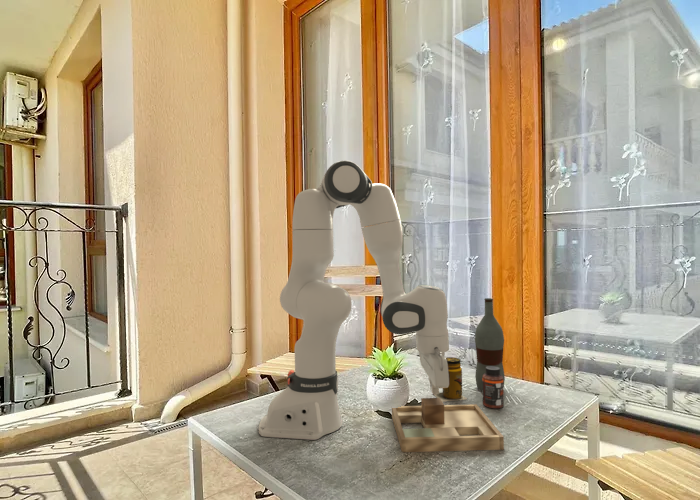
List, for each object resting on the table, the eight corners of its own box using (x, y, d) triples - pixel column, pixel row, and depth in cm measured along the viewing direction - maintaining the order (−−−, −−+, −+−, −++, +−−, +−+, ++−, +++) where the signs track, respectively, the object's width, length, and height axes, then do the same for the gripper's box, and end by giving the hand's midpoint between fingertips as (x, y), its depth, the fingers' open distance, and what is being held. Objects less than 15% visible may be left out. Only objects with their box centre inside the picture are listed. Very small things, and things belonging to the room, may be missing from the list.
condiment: (467, 399, 130) (467, 361, 130) (442, 402, 128) (441, 363, 128) (456, 391, 137) (455, 355, 137) (432, 394, 135) (431, 357, 135)
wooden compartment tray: (401, 452, 98) (401, 439, 98) (391, 417, 118) (391, 406, 118) (503, 449, 98) (503, 436, 98) (476, 414, 118) (476, 404, 118)
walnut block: (425, 424, 108) (424, 405, 108) (421, 416, 113) (421, 398, 113) (444, 424, 108) (444, 404, 108) (440, 416, 113) (439, 397, 113)
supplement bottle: (505, 410, 121) (504, 371, 121) (483, 408, 123) (483, 370, 122) (502, 402, 127) (501, 365, 127) (481, 401, 128) (481, 364, 128)
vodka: (510, 389, 138) (508, 298, 138) (495, 396, 132) (494, 301, 132) (484, 382, 145) (483, 296, 145) (469, 388, 139) (468, 298, 139)
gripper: (454, 353, 106) (456, 407, 106) (435, 334, 126) (437, 379, 127) (429, 354, 106) (431, 408, 106) (414, 335, 126) (416, 380, 127)
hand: (434, 392), depth 117 cm, fingers closed
